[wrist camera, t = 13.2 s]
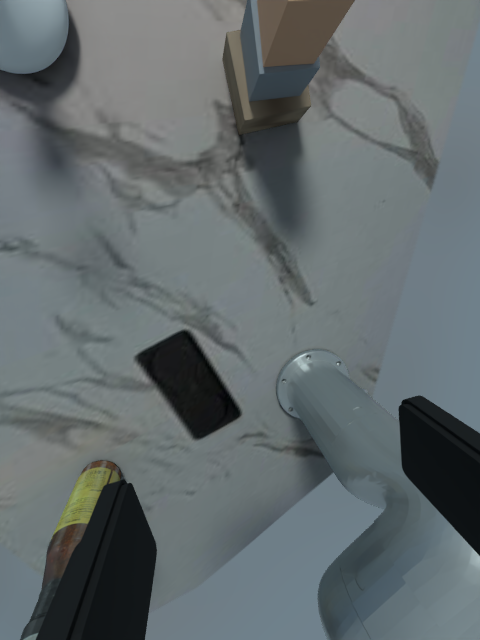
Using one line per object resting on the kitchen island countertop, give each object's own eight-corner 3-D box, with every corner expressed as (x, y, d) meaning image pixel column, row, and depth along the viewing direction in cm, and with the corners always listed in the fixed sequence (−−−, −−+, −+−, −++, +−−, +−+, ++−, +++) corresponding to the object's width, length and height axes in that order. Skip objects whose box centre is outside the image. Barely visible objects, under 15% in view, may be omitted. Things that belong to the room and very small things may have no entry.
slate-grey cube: (294, 29, 29) (314, -14, 24) (300, 95, 31) (319, 67, 26) (240, 34, 28) (249, -9, 23) (249, 101, 30) (259, 74, 25)
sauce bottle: (73, 476, 43) (-22, 657, 24) (100, 450, 43) (26, 613, 24) (106, 496, 45) (43, 677, 26) (133, 472, 45) (88, 638, 26)
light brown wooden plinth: (285, 48, 33) (298, 18, 29) (296, 122, 35) (311, 105, 31) (222, 60, 32) (226, 32, 28) (238, 136, 35) (244, 120, 30)
